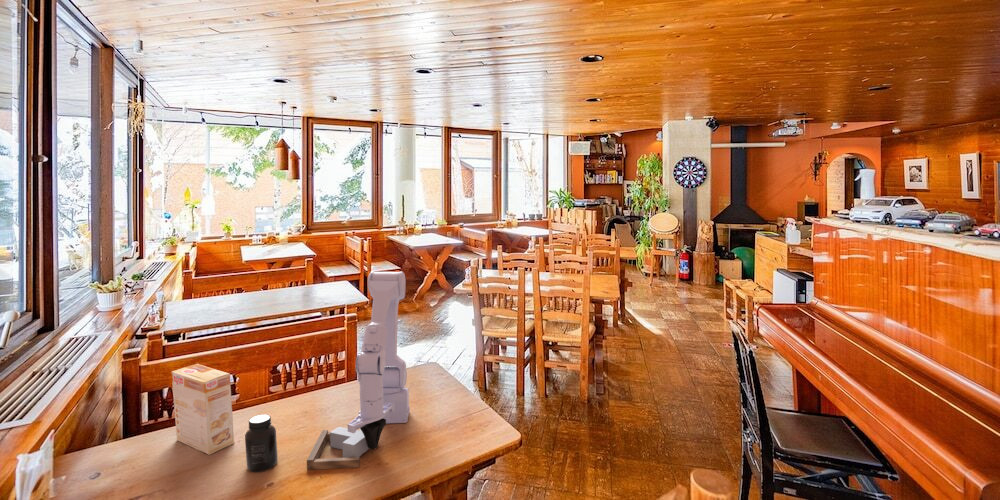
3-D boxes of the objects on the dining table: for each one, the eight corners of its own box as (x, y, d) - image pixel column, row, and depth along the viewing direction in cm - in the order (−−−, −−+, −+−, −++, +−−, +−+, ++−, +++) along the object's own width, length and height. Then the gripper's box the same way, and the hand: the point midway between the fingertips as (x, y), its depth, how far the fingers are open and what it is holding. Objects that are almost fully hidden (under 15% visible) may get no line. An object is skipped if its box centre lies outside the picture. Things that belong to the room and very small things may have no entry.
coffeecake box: (235, 443, 127) (231, 373, 124) (208, 456, 121) (203, 382, 118) (202, 429, 134) (197, 362, 131) (175, 440, 128) (169, 371, 125)
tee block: (377, 441, 128) (377, 427, 128) (354, 460, 119) (354, 445, 118) (346, 435, 132) (346, 421, 131) (321, 452, 122) (321, 438, 122)
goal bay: (368, 436, 131) (368, 428, 130) (359, 467, 116) (358, 457, 116) (322, 438, 129) (322, 430, 129) (307, 469, 115) (306, 460, 115)
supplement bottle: (284, 460, 119) (281, 414, 118) (262, 475, 113) (259, 427, 111) (262, 454, 121) (260, 410, 120) (240, 469, 115) (237, 422, 114)
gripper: (380, 384, 130) (381, 431, 131) (338, 404, 117) (339, 456, 119) (400, 389, 126) (400, 438, 128) (358, 410, 114) (360, 464, 115)
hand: (372, 447), depth 123 cm, fingers closed, pressing on tee block
